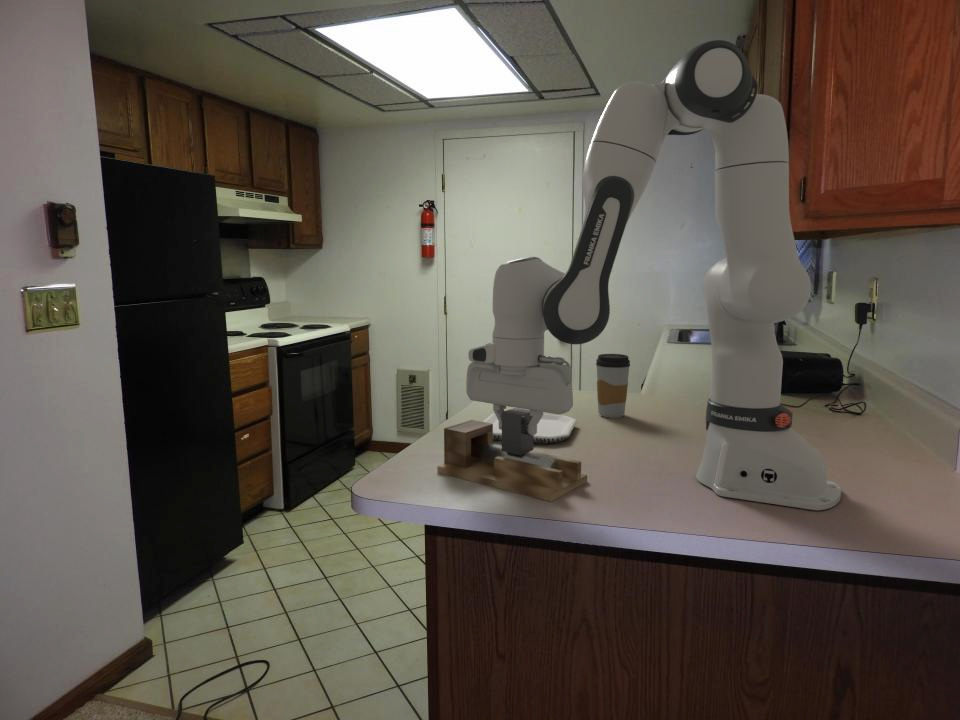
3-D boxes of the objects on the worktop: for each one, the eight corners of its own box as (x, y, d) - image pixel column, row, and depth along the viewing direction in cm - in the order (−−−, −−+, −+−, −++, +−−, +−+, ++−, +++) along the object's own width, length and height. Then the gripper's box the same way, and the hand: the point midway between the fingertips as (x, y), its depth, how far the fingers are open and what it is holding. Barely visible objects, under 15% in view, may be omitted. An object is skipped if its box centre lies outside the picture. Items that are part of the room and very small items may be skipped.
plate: (470, 441, 139) (470, 431, 139) (493, 419, 159) (494, 410, 158) (566, 448, 133) (566, 438, 133) (578, 425, 153) (578, 416, 153)
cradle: (587, 481, 112) (588, 438, 111) (551, 501, 103) (551, 454, 102) (477, 456, 127) (477, 418, 126) (437, 472, 117) (437, 430, 116)
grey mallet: (557, 475, 111) (558, 415, 110) (545, 481, 108) (546, 419, 107) (492, 460, 120) (492, 404, 118) (479, 465, 117) (478, 408, 115)
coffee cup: (635, 416, 160) (637, 356, 158) (611, 420, 156) (613, 359, 154) (611, 410, 167) (612, 352, 165) (587, 414, 163) (588, 355, 160)
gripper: (581, 356, 107) (579, 437, 109) (482, 346, 119) (482, 419, 121) (561, 360, 102) (560, 445, 104) (460, 350, 114) (461, 426, 116)
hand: (517, 431), depth 113 cm, fingers closed on grey mallet, 4 cm apart
